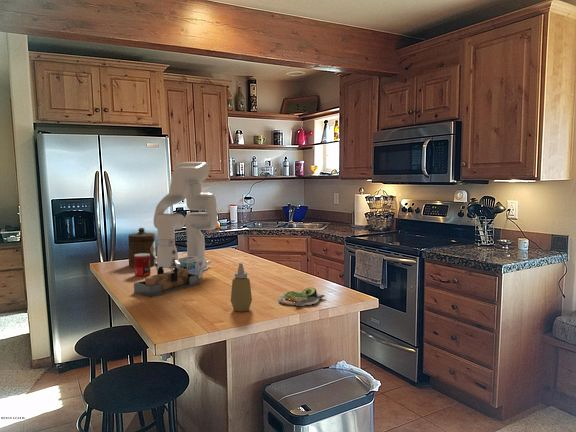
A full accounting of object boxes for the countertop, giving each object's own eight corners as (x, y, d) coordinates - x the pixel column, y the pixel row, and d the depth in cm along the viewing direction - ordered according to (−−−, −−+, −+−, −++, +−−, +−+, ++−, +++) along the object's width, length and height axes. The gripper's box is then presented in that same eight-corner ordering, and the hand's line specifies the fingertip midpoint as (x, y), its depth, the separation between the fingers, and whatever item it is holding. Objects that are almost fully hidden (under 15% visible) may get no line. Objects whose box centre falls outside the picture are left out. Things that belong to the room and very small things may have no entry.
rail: (180, 280, 206) (180, 268, 205) (188, 281, 203) (187, 269, 203) (145, 291, 186) (145, 277, 186) (153, 292, 184) (152, 278, 184)
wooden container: (159, 265, 247) (158, 228, 245) (132, 269, 238) (131, 229, 236) (151, 261, 259) (150, 225, 257) (126, 264, 250) (124, 227, 249)
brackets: (182, 281, 209) (182, 272, 209) (199, 284, 202) (198, 275, 202) (133, 293, 187) (133, 282, 187) (150, 297, 180) (150, 286, 180)
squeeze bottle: (231, 307, 166) (230, 261, 165) (252, 306, 167) (251, 261, 166) (230, 313, 158) (229, 265, 157) (252, 312, 159) (251, 265, 158)
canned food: (145, 277, 218) (145, 256, 217) (131, 276, 219) (131, 255, 218) (153, 274, 225) (152, 253, 224) (139, 273, 227) (139, 252, 226)
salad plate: (316, 311, 162) (316, 299, 162) (271, 307, 167) (271, 295, 167) (326, 297, 180) (326, 287, 180) (286, 294, 186) (286, 284, 185)
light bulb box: (188, 281, 209) (187, 259, 208) (178, 279, 212) (177, 258, 211) (203, 277, 218) (203, 256, 217) (193, 275, 221) (193, 255, 220)
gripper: (185, 243, 191) (186, 280, 192) (161, 240, 201) (162, 275, 203) (172, 245, 185) (173, 284, 186) (147, 242, 195) (148, 278, 197)
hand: (167, 279), depth 194 cm, fingers open, 9 cm apart
